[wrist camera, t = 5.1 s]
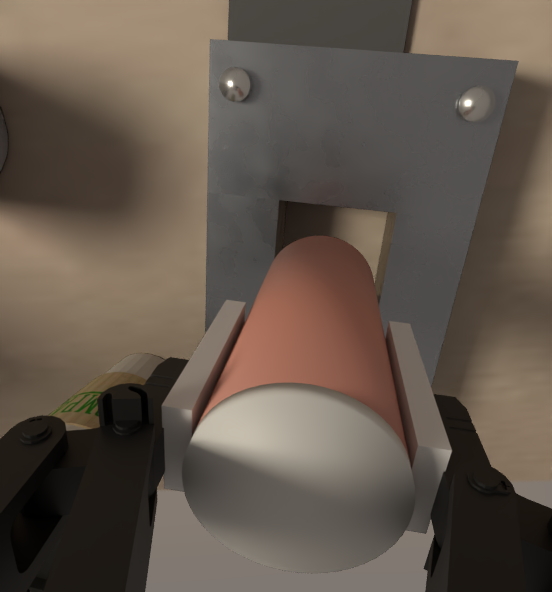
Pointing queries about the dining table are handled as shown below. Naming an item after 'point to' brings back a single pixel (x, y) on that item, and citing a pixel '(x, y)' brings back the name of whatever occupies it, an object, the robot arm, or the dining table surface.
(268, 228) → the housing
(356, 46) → the mat
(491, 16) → the dining table surface
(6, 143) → the pillar candle
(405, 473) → the pink round peg
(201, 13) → the dining table surface
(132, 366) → the coffee cup
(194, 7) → the dining table surface
